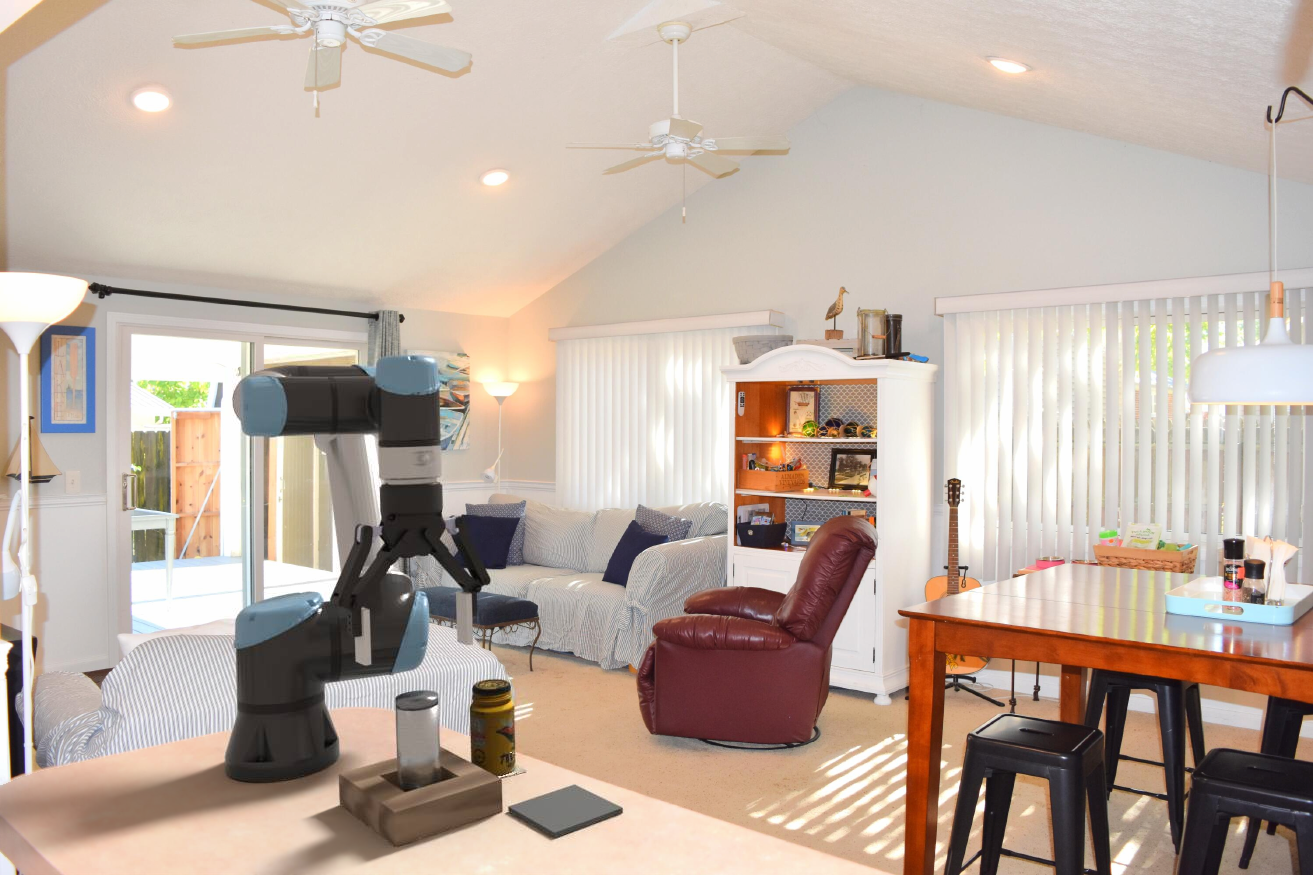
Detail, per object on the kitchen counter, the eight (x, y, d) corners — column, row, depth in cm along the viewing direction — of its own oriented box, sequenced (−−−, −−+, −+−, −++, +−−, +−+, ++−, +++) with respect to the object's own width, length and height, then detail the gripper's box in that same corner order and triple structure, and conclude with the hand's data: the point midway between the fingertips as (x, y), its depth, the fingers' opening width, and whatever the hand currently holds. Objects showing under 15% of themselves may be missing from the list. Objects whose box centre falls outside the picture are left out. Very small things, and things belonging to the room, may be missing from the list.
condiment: (527, 772, 129) (524, 684, 129) (468, 786, 125) (465, 696, 124) (504, 756, 135) (502, 673, 135) (447, 769, 131) (445, 683, 130)
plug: (391, 807, 118) (388, 696, 118) (429, 795, 122) (426, 687, 121) (410, 820, 115) (406, 705, 114) (449, 808, 118) (445, 696, 118)
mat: (508, 811, 117) (508, 806, 117) (574, 788, 123) (574, 784, 123) (554, 837, 109) (554, 832, 109) (622, 812, 116) (622, 807, 116)
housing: (339, 804, 120) (338, 773, 120) (440, 775, 129) (439, 745, 129) (395, 846, 108) (394, 811, 107) (502, 810, 117) (501, 778, 117)
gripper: (322, 489, 106) (328, 678, 106) (513, 476, 122) (518, 640, 123) (298, 486, 112) (304, 666, 112) (484, 474, 128) (488, 631, 128)
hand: (416, 653), depth 117 cm, fingers open, 13 cm apart
